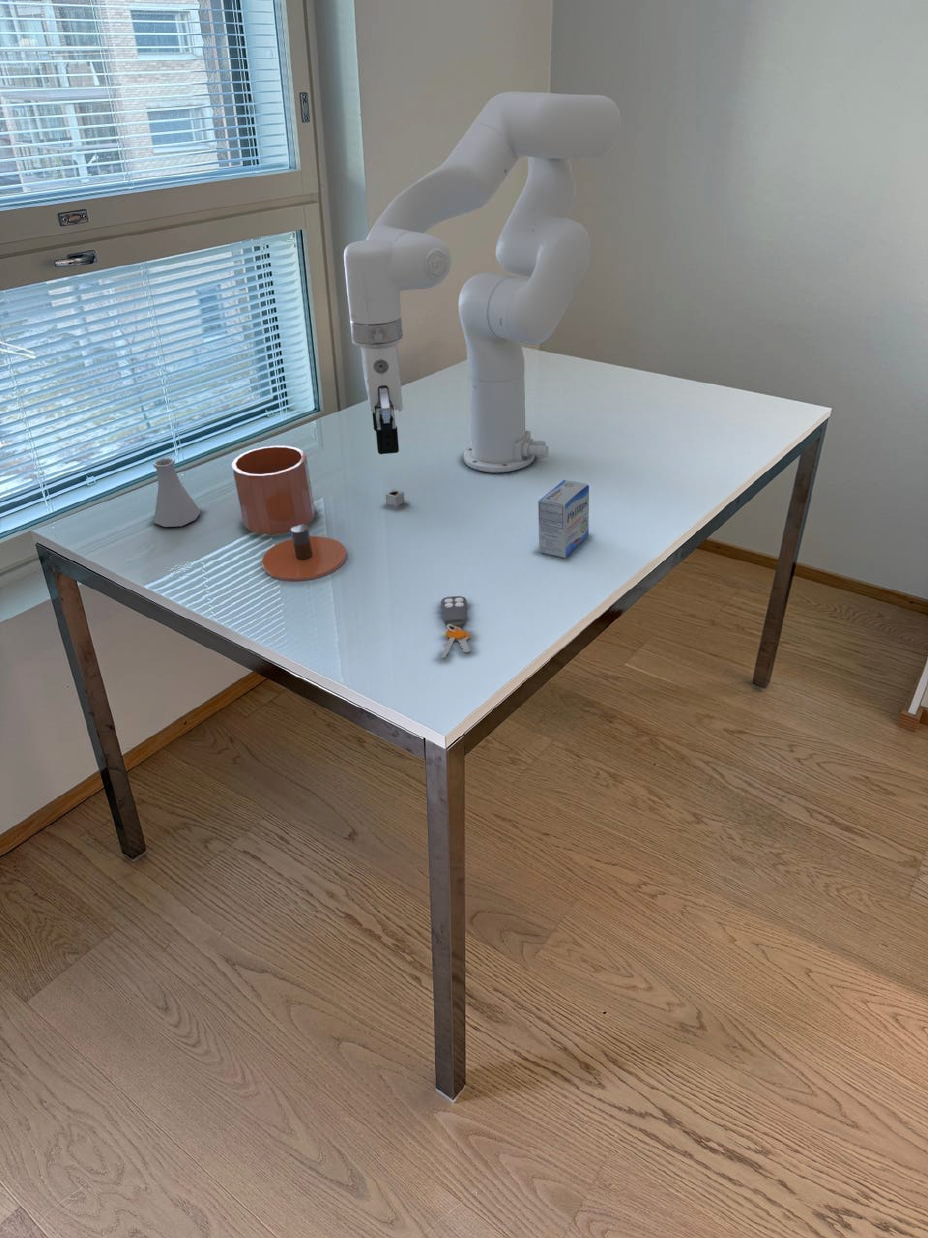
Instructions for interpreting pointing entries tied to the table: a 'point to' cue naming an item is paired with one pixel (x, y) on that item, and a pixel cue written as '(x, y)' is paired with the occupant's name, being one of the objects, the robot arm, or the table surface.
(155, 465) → the flask
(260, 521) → the canister
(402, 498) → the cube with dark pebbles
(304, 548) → the lid
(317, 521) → the table surface
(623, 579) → the table surface
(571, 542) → the medicine box
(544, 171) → the robot arm
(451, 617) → the key chain
